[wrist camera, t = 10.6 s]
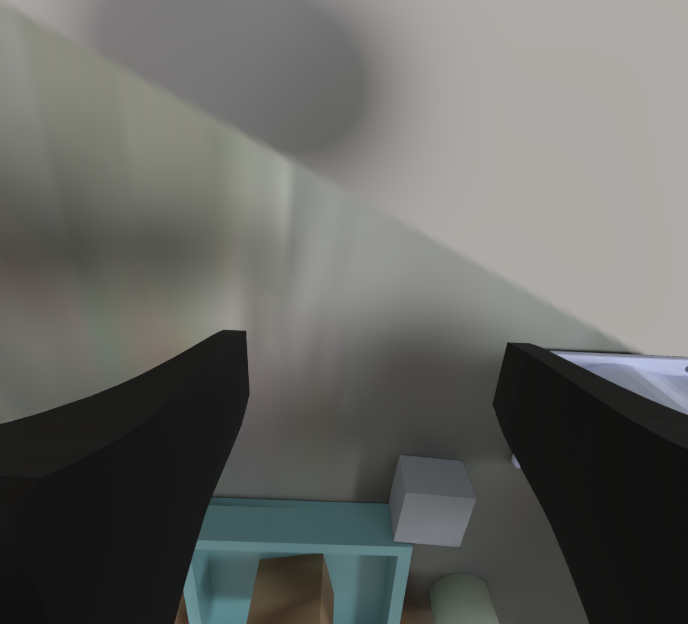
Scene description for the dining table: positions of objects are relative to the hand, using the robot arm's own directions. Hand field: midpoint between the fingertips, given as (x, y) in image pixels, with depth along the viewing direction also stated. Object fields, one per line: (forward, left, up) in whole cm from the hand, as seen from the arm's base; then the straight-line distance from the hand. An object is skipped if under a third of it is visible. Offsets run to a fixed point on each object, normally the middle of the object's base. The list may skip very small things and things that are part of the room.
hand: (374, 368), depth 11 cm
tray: (+3, +23, -9) cm, 25 cm away
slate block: (-5, +14, -10) cm, 18 cm away
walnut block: (+3, +23, -9) cm, 25 cm away
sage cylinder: (-9, +25, -10) cm, 28 cm away
